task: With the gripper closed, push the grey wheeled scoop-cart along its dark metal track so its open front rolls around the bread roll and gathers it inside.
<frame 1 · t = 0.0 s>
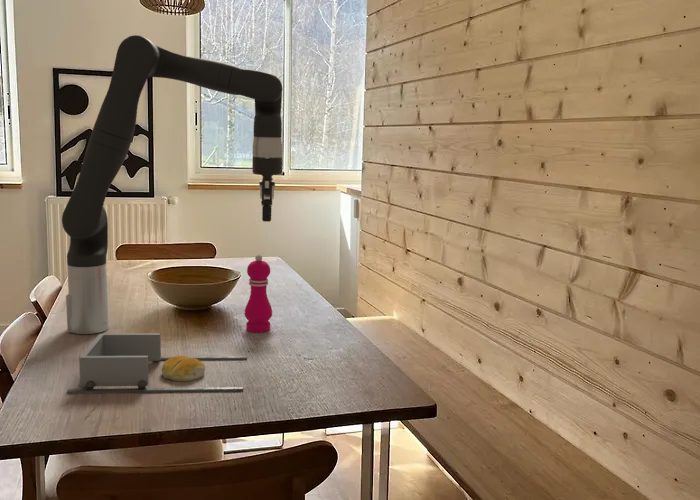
hand: (266, 219, 173), 29 cm above the table, fingers open, 8 cm apart
pepper mill: (258, 329, 177), on the table
track: (164, 374, 143), on the table
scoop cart: (122, 359, 141), point 3 cm above the table, slide at 0.0 cm
bread roll: (183, 376, 143), on the table
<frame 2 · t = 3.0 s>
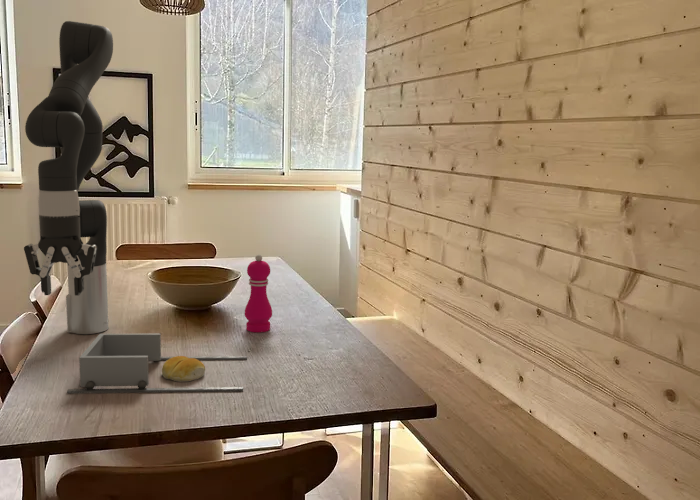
hand: (63, 294, 138), 17 cm above the table, fingers open, 5 cm apart
nothing on the table moved.
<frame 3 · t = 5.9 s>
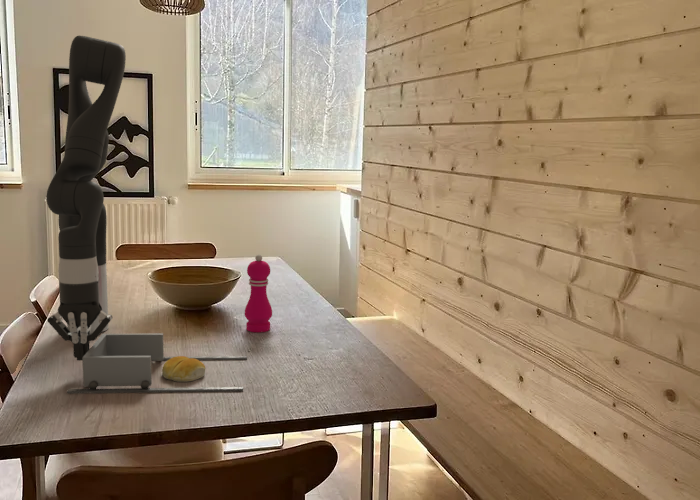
hand: (82, 359, 140), 4 cm above the table, fingers closed
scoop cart: (125, 359, 141), point 3 cm above the table, slide at 0.6 cm, touching gripper
everything else where it was.
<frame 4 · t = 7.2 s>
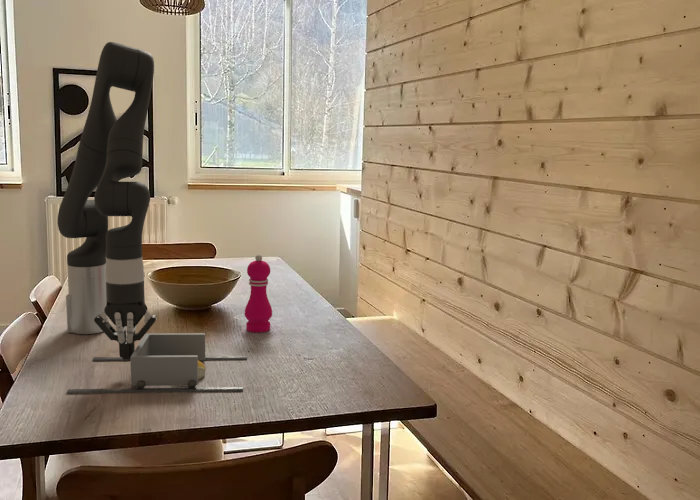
hand: (127, 358, 141), 4 cm above the table, fingers closed
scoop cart: (170, 359, 143), point 3 cm above the table, slide at 9.8 cm, touching gripper
everything else where it was.
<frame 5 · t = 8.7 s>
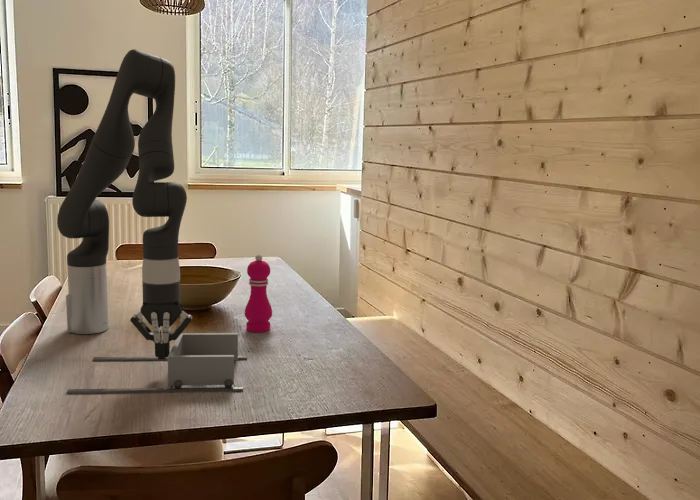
hand: (162, 358, 142), 4 cm above the table, fingers closed
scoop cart: (205, 358, 143), point 3 cm above the table, slide at 17.0 cm, touching gripper
bread roll: (200, 376, 144), on the table
everything else where it was.
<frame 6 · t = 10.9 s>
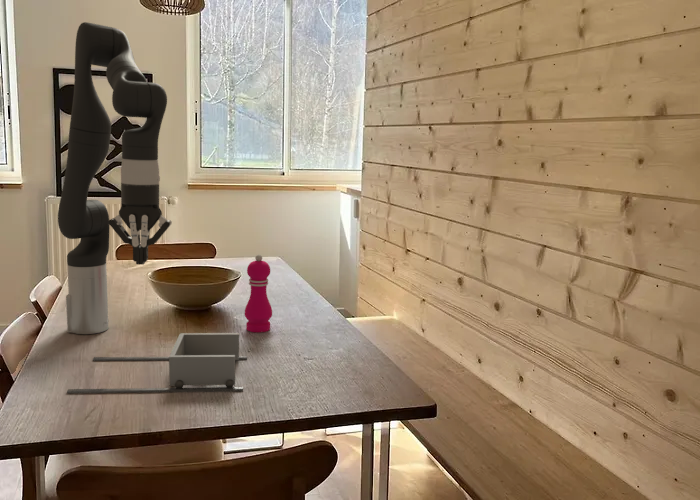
hand: (140, 263, 141), 23 cm above the table, fingers closed
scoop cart: (206, 358, 143), point 3 cm above the table, slide at 17.3 cm
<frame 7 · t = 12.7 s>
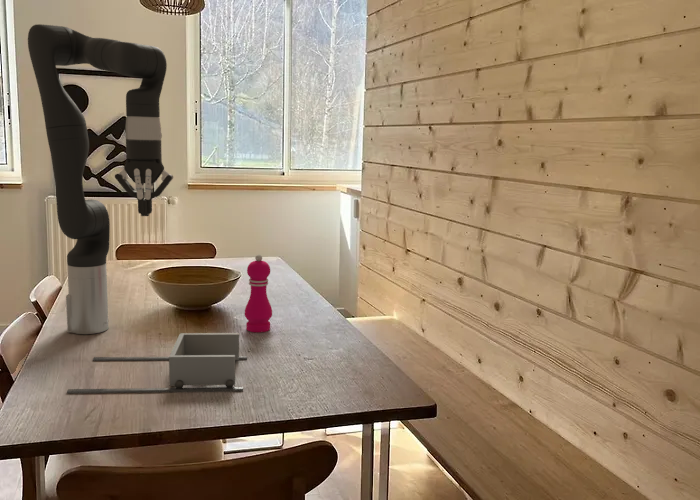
hand: (145, 215, 151), 32 cm above the table, fingers closed
nothing on the table moved.
at the end: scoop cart slide at 17.3 cm; bread roll inside the target area (0.6 cm from its centre), on the table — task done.
